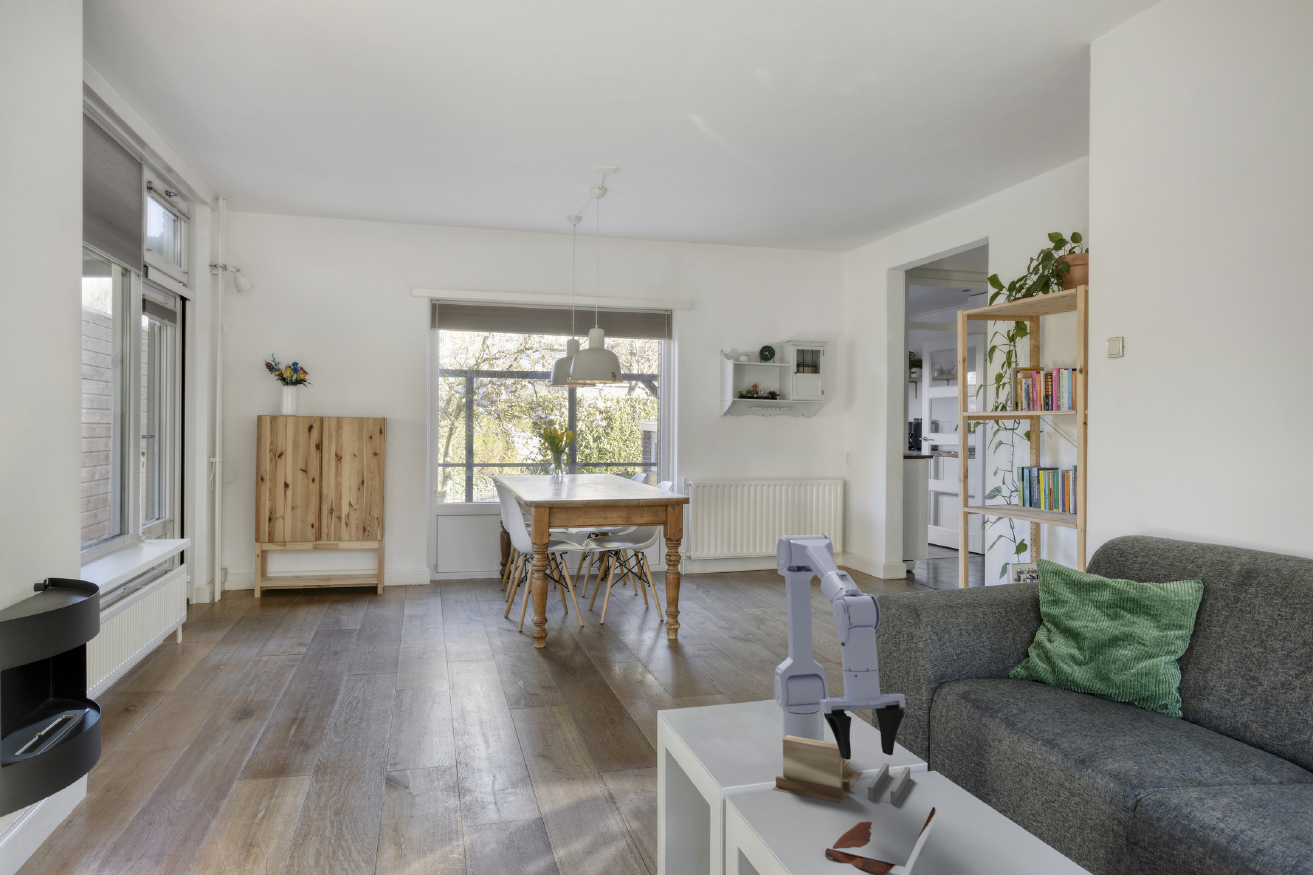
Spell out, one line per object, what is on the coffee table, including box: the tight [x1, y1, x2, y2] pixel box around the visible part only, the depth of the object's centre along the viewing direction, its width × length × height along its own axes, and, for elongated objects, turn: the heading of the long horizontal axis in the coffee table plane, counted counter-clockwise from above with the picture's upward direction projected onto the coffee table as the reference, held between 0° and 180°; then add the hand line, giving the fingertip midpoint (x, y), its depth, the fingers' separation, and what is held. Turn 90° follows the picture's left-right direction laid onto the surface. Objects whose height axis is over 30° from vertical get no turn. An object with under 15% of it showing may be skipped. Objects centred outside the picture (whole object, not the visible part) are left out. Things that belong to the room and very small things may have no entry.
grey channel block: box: [863, 762, 915, 806], centre depth 141 cm, size 12×6×3 cm, turn 151°
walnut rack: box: [772, 769, 863, 804], centre depth 144 cm, size 15×12×2 cm
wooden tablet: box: [825, 806, 936, 875], centre depth 126 cm, size 27×10×2 cm, turn 143°
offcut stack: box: [842, 758, 852, 779], centre depth 148 cm, size 4×8×3 cm, turn 61°
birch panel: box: [782, 735, 843, 788], centre depth 141 cm, size 2×10×8 cm, turn 61°
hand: (866, 755), depth 130 cm, fingers open, 7 cm apart
